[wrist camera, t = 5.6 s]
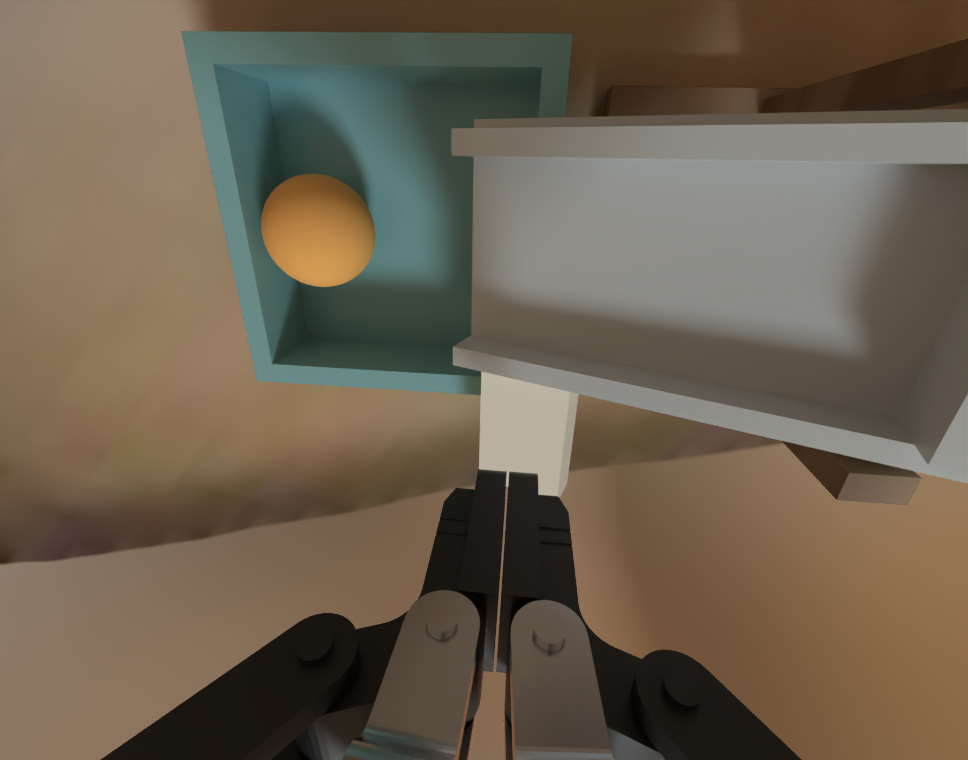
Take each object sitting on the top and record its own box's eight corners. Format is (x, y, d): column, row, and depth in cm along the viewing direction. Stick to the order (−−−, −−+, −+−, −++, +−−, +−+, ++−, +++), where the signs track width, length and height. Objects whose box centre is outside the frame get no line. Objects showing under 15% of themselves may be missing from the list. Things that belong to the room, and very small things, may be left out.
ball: (381, 174, 18) (280, 171, 18) (353, 175, 14) (226, 172, 14) (388, 275, 19) (297, 273, 19) (365, 300, 16) (252, 297, 16)
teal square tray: (255, 60, 17) (181, 31, 13) (562, 63, 16) (572, 33, 12) (301, 345, 22) (256, 380, 18) (538, 359, 21) (540, 398, 17)
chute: (1190, 137, 12) (2247, 54, 4) (972, 487, 17) (1204, 788, 8) (564, 138, 18) (433, 110, 10) (541, 387, 23) (441, 501, 15)
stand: (958, 95, 15) (1617, -17, 6) (849, 360, 20) (1137, 532, 10) (607, 90, 16) (714, -16, 7) (576, 345, 21) (616, 492, 11)
